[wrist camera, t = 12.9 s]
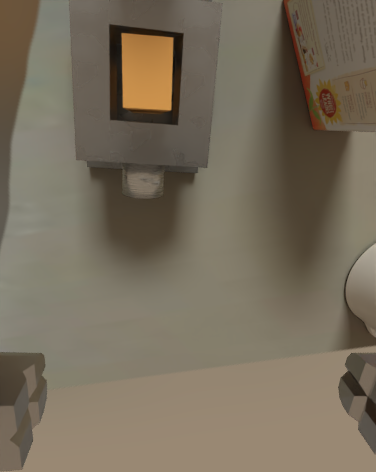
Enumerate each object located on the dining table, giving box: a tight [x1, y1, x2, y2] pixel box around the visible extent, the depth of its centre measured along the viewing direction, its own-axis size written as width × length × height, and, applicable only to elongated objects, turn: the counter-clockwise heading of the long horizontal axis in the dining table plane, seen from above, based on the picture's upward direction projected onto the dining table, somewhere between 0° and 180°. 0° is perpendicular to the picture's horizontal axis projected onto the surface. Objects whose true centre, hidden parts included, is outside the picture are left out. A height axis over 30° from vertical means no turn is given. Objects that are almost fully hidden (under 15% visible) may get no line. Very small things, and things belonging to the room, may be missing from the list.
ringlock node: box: [69, 0, 222, 199], centre depth 22 cm, size 12×25×22 cm, turn 176°
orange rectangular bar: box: [122, 33, 173, 114], centre depth 26 cm, size 3×4×14 cm
